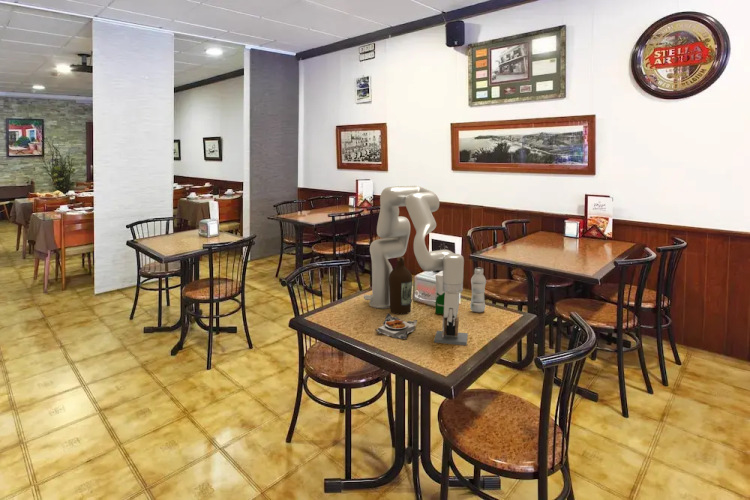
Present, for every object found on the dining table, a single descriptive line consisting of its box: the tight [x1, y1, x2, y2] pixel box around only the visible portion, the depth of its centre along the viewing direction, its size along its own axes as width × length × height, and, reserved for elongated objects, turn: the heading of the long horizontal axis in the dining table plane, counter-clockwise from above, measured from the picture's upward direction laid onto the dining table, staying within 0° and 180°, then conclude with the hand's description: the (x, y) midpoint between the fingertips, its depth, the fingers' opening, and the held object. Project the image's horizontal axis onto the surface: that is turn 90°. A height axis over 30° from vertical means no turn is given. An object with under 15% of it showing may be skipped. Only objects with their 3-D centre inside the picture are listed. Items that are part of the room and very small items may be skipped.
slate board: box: [433, 330, 469, 346], centre depth 171 cm, size 12×9×1 cm
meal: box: [374, 313, 418, 340], centre depth 180 cm, size 15×4×13 cm
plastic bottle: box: [469, 267, 487, 313], centre depth 199 cm, size 6×7×20 cm
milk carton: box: [434, 270, 445, 316], centre depth 199 cm, size 9×9×20 cm
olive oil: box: [389, 256, 413, 315], centre depth 200 cm, size 11×11×25 cm
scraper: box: [441, 315, 460, 337], centre depth 170 cm, size 6×8×7 cm
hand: (451, 332), depth 171 cm, fingers closed on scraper, 4 cm apart
